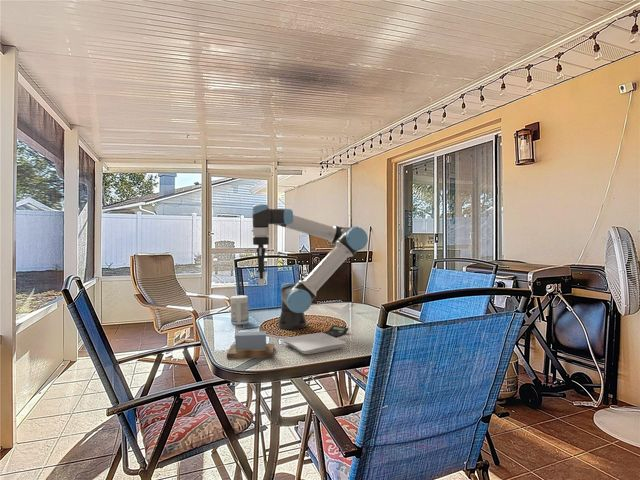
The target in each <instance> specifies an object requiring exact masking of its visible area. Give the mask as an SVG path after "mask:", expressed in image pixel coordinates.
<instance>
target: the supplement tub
mask: <svg viewBox="0 0 640 480" xmlns="http://www.w3.org/2000/svg"><path fill="white" fill-rule="evenodd" d="M249 315H250V314H249V296H248V295H246V294H245V295H242V294H241V295H233V296H230V323H231V324H232V325H237V326H241V325H246V324H248V323H249V318H250V317H249Z"/></svg>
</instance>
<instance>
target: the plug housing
mask: <svg viewBox="0 0 640 480" xmlns="http://www.w3.org/2000/svg"><path fill="white" fill-rule="evenodd" d="M234 336H235V337H234V338H235V339H234V341H235V344H234V345H235V351H236V350H265V349H266V344H267V331H266V330H264V331H237V332H236V333H235V335H234Z"/></svg>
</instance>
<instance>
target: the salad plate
mask: <svg viewBox="0 0 640 480" xmlns="http://www.w3.org/2000/svg"><path fill="white" fill-rule="evenodd" d="M282 342H284V344H286V345H288V346H289V347H291V348H293V349H294V350H295V351H296V350H297V351H298V352H300V353H301V354H303V355H313V354H318V353H324V352H325V353H326V352H331V351H335V350H337V349H340V348H342V347H344V346H345V345H346V344H347V342H346V341H345V340H342V339H339V338H338V337H337V338H335V337H333V336H330V335H328V334H325V333H323V332H316V333H307V334H301V335H296V336H289V337H285V338H282Z"/></svg>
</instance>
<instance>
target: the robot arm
mask: <svg viewBox="0 0 640 480" xmlns="http://www.w3.org/2000/svg"><path fill="white" fill-rule="evenodd" d="M269 225H274V226H279V227H282V228H286V229H288V230H289V229H290V230H293V231H296V232H301V233H304V234H307V235H310V236H314V237H317V238H320V239H323V240H327V241H328V242H329V243H330V244H331V243H332V244H334V245H335V246H334V247H333V248H332V249H331V250H330V251H329V252H328V253H327V255H326V256H325V257H324V258H322V260H320V261H319V263H318V264H317V265H316V266H315V267H314V268H313V269H312V270H311V271H310V272H309V274H307V275H306V277H305V278H304V279H303V280H302V279H301V280H298V281H297V282H291V283H288V282H287V283H282V284H281V287H280V293H281V298H280V299H281V300H280V302H281V303H280V304H281V305H280V306H281V307H280V308H281V309H280V311H281V312H280V315H279V319H278V322H277V323H278V324H277V325H278V328H280V329H283V330H300V329H299V328H301V329H304V328H306V327H307V325H308V322H307V319H306V318H307V317H306V316H305V312H307V311H308V310H309V308H311V305H312V302H313V300H314V299H316V297H317V292H318V291H319V289H320V288H321V287H322V286H324V284H325V283H326V282H327V281H328V280H329V278H331V276H332V275H333V274H334V273H335V272H336V271H337V270H338V268H339V267H341V266H342V265H343V263H344V262H345V261H346V260H347V259H348V258H351V257H354V256H355V255H356V254H357V252H358V251H361V250H363V249H364V248H365V247H366V246H367V244H368V241H369V239H368V234H367V232H366V231H365V230H364V229H363V228H362V227H359V226H352V227H351V226H350V227H348V226H347V227H346V226H345V227H344V226H343V227H342V226H338V225H333V226H332V225H327V224H324V223H321V222H318V221H314V220H311V219H308V218H304V217H301V216H298V215H295V214H294V212H293V210H292V209H291V208H269V205H268V204H261V203H260V204H259V203H258V204H254V205H253V206H252V229H251V232H252V236H253V238H252V245H254V246H257V247H258V248H256V253H257V254H256V255H257V257H256V258H257V271H256V272H257V273H258V286H265V272H266V271H267V270H266V269H265V257H266V248H265V247H264V245H265V246H266V245H267V246H268V245H269V242H270V241H269V240H270V239H269V234H270V233H269V232H270V230H269V229H270V228H269Z"/></svg>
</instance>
